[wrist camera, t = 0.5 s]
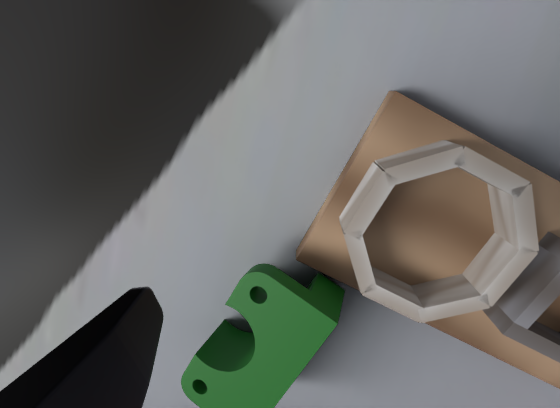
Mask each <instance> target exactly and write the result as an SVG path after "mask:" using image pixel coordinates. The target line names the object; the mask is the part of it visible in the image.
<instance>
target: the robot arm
mask: <svg viewBox="0 0 560 408" xmlns="http://www.w3.org/2000/svg"><path fill="white" fill-rule="evenodd" d="M162 323H163V311H162V309H161V307H160V305H159V303H158V301H157V299H156V297H155V295H154V293H153V291H152V289H150V288H149V287H138V288H132V289H130V290H129V291H127V292H126V293H125V294H124V295H122V296H121V297H120V298H118V299H117V300H116V301H115V302H113V303H112V304H111V305H110V306H108V307H107V308H106V309H104V310H103V311H102V312H101V313H99V314H98V315H97V316H96V317H94V318H93V319H92V320H90V321H89V322H88V323H87V324H85V325H84V326H83V327H82V328H80V329H79V330H78V331H76V332H75V333H74V334H73V335H71V336H70V337H69V338H68V339H66V340H65V341H64V342H62V343H61V344H60V345H59V346H57V347H56V348H55V349H54V350H52V351H51V352H50V353H48V354H47V355H46V356H45V357H43V358H42V359H41V360H40V361H38V362H37V363H36V364H34V365H33V366H32V367H31V368H29V369H28V370H27V371H26V372H24V373H23V374H22V375H20V376H19V377H18V378H17V379H15V380H14V381H13V382H12V383H10V384H9V385H8V386H6V387H5V388H4V389H3V390H1V391H0V408H142V406H143V402H144V399H145V396H146V393H147V389H148V386H149V382H150V378H151V374H152V370H153V365H154V361H155V356H156V351H157V347H158V342H159V337H160V333H161V328H162Z"/></svg>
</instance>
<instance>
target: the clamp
mask: <svg viewBox="0 0 560 408" xmlns="http://www.w3.org/2000/svg"><path fill="white" fill-rule="evenodd" d="M344 292H345V290H344V289H343V288H342V287H340V286H339V285H337V284H336V283H334V282H333V281H331V280H330V279H328V278H327V277H325V276H324V275H322V274H321V273H318V274H317V275H316V276H315V277H314V279H313V280H312V282H311V283H310V285H309V286H308V288H305V287H304V286H302V285H301V284H300V283H298V282H297V281H295V280H294V279H292V278H291V277H289V276H288V275H287V274H285V273H284V272H282V271H281V270H279V269H278V268H276V267H275V266H273V265H270V264H258V265H255V266H254V267H252V268H251V269H250V270H249V271H248V272H247V273H246V274H245V275H244V276H243V277H242V278H241V280H240V281H239V283H238V284H237V286H236V288H235V289H234V291H233V293H232V294H231V296H230V298H229V299H228V301H227V303H226V304H225V305H228V306H230V307H232V308H234V309H235V310H237V311H238V312H239V313H240V314H241V315H243V317H244V318H245V319H246V320H247V321H248V323H249V325H250V326H251V328H252V331H253V333H250V332H244V331H241V330H239V329H237V328H235V327H234V326H232V325H231V324H230V323H229V322H227V321H226V320H224V321H223V322H222V323H221V324H220V326H219V327H218V328H217V329H216V330H215V332H214V333H213V334H212V335H211V336H210V337H209V339H208V340H207V341H206V342H205V343H204V344H203V346H202V347H201V348H200V349H199V350H198V352H197V353H196V354H195V355H194V357H193V359H192V360H191V362H190V364H189V365H188V367H187V369H186V370H185V372H184V374H183V375H182V379H181V385H182V389H183V391H184V393H185V394H186V396H187V397H188V398H189V399H190V400H191V401H193V402H194V403H195V404H196V405H198V406H199V407H200V408H274V407H275V406H276V404H277V403H278V402H279V400H280V399H281V398H282V396H283V395H284V394H285V392H286V391H287V390H288V388H289V387H290V386H291V385H292V383H293V382H294V381H295V379H296V378H297V377H298V375H299V374H300V373H301V371H302V370H303V369H304V368H305V366H306V365H307V364H308V362H309V361H310V360H311V358H312V357H313V356H314V354H315V353H316V352H317V350H318V349H319V348H320V347H321V345H322V344H323V343H324V341H325V340H326V339H327V337H328V336H329V335H330V333H331V332H332V331H333V329H334V328H335V327H336V326H337V324H338V321H339V316H340V311H341V306H342V302H343V297H344Z"/></svg>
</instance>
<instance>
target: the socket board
mask: <svg viewBox="0 0 560 408" xmlns="http://www.w3.org/2000/svg"><path fill="white" fill-rule="evenodd" d="M296 260H297V261H299V262H301V263H303V264H306V265H308V266H310V267H312V268H314V269H316V270H318V271H320V272H322V273H324V274H326V275H328V276H330V277H332V278H334V279H336V280H338V281H340V282H342V283H344V284H346V285H349V286H351V287H353V288H355V289H357V290H359V291H360V293H362V295H363V296H365V297H367V298H369V299H371V300H373V301H375V302H377V303H379V304H381V305H383V306H385V307H388V308H390V309H392V310H394V311H396V312H398V313H400V314H402V315H404V316H406V317H408V318H410V319H412V320H414V321H416V322H418V323H419V322H421V323H426V324H428V325H430V326H432V327H434V328H436V329H439V330H441V331H443V332H445V333H447V334H449V335H451V336H453V337H455V338H457V339H459V340H461V341H463V342H465V343H467V344H469V345H471V346H473V347H475V348H477V349H479V350H481V351H484V352H486V353H488V354H490V355H492V356H494V357H496V358H498V359H500V360H502V361H504V362H506V363H508V364H510V365H512V366H514V367H516V368H518V369H520V370H522V371H524V372H526V373H529V374H531V375H533V376H535V377H537V378H539V379H541V380H543V381H545V382H547V383H549V384H551V385H553V386H555V387H557V388H559V389H560V182H559V181H557V180H556V179H554V178H552V177H550V176H548V175H547V174H545V173H543V172H541V171H539V170H537V169H536V168H534V167H532V166H530V165H528V164H527V163H525V162H523V161H521V160H519V159H518V158H516V157H514V156H512V155H510V154H509V153H507V152H505V151H503V150H501V149H500V148H498V147H496V146H494V145H492V144H491V143H489V142H487V141H485V140H483V139H481V138H480V137H478V136H476V135H474V134H472V133H471V132H469V131H467V130H465V129H463V128H462V127H460V126H458V125H456V124H454V123H453V122H451V121H449V120H447V119H445V118H444V117H442V116H440V115H438V114H436V113H435V112H433V111H431V110H429V109H427V108H425V107H424V106H422V105H420V104H418V103H416V102H415V101H413V100H411V99H409V98H407V97H406V96H404V95H402V94H400V93H398V92H397V91H389V92H388V94H387V96H386V97H385V99H384V101H383V103H382V104H381V106H380V108H379V109H378V111H377V113H376V115H375V116H374V118H373V120H372V121H371V123H370V125H369V127H368V128H367V130H366V132H365V133H364V135H363V137H362V139H361V140H360V142H359V144H358V145H357V147H356V149H355V151H354V152H353V154H352V156H351V157H350V159H349V161H348V162H347V164H346V166H345V168H344V169H343V171H342V173H341V174H340V176H339V178H338V180H337V181H336V183H335V185H334V186H333V188H332V190H331V192H330V193H329V195H328V197H327V198H326V200H325V202H324V204H323V205H322V207H321V209H320V210H319V212H318V214H317V216H316V217H315V219H314V221H313V222H312V224H311V226H310V228H309V229H308V231H307V233H306V234H305V236H304V238H303V240H302V241H301V243H300V245H299V246H298V248H297V250H296Z"/></svg>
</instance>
